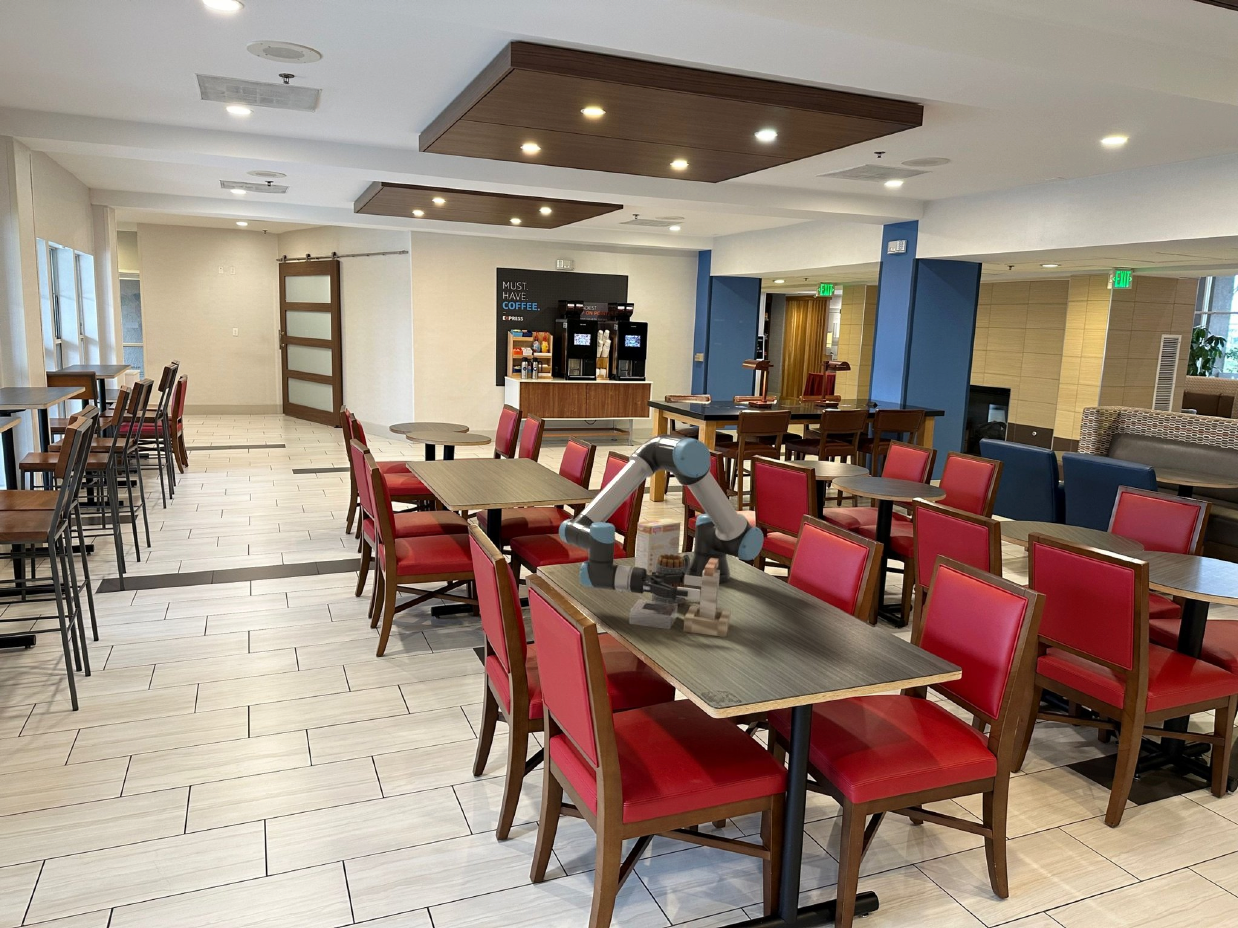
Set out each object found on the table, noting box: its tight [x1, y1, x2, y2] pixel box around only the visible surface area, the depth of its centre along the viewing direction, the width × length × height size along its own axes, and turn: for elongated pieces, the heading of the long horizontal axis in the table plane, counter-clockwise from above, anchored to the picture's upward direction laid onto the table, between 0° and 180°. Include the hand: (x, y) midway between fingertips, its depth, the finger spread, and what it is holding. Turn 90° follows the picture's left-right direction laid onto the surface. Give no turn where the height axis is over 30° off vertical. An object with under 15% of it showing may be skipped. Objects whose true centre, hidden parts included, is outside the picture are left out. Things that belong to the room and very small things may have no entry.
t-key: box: [699, 558, 720, 619], centre depth 242 cm, size 12×4×19 cm, turn 166°
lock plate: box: [628, 598, 679, 630], centre depth 246 cm, size 12×12×4 cm
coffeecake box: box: [634, 518, 682, 575], centre depth 295 cm, size 15×7×20 cm, turn 130°
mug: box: [651, 553, 691, 608], centre depth 266 cm, size 16×11×15 cm
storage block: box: [683, 605, 732, 638], centre depth 243 cm, size 12×12×4 cm
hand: (703, 588), depth 242 cm, fingers open, 13 cm apart
